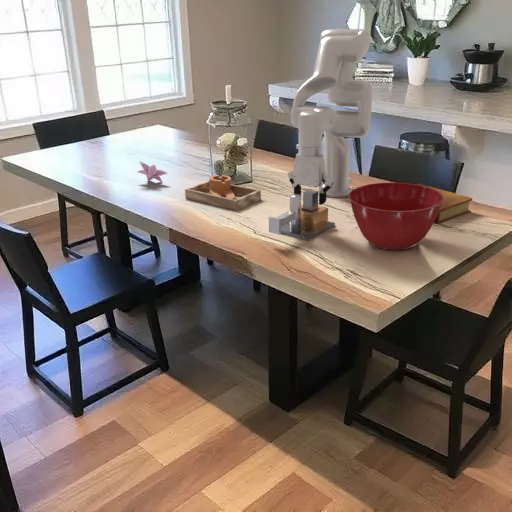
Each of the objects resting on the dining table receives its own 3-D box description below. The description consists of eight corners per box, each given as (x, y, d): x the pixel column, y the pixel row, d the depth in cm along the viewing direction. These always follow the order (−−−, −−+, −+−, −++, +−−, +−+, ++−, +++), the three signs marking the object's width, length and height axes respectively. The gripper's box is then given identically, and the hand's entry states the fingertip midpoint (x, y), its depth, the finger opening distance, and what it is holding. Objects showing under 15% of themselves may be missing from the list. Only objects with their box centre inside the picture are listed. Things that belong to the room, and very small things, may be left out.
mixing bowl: (328, 242, 197) (329, 196, 191) (381, 219, 216) (384, 176, 209) (405, 268, 179) (409, 217, 173) (456, 240, 197) (461, 193, 191)
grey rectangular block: (302, 223, 211) (303, 192, 206) (308, 220, 213) (309, 189, 209) (311, 225, 208) (312, 194, 204) (317, 222, 211) (318, 191, 207)
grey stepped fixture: (300, 217, 219) (300, 181, 214) (334, 225, 211) (336, 188, 206) (256, 240, 201) (255, 201, 195) (292, 250, 193) (292, 210, 187)
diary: (384, 209, 227) (385, 194, 225) (417, 198, 237) (419, 183, 235) (437, 225, 210) (439, 209, 208) (470, 213, 221) (472, 197, 218)
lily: (170, 188, 257) (171, 165, 258) (147, 183, 249) (148, 159, 250) (152, 191, 265) (154, 169, 266) (129, 186, 257) (130, 163, 258)
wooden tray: (211, 188, 252) (210, 179, 251) (260, 199, 238) (260, 190, 237) (185, 198, 241) (184, 189, 240) (236, 210, 227) (235, 201, 226)
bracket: (208, 192, 247) (208, 175, 245) (228, 191, 249) (229, 174, 246) (214, 207, 231) (214, 189, 228) (236, 206, 233) (236, 188, 230)
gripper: (281, 149, 203) (282, 199, 210) (327, 156, 193) (326, 209, 201) (294, 144, 208) (294, 193, 216) (339, 151, 199) (338, 202, 206)
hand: (309, 200), depth 208 cm, fingers open, 9 cm apart
